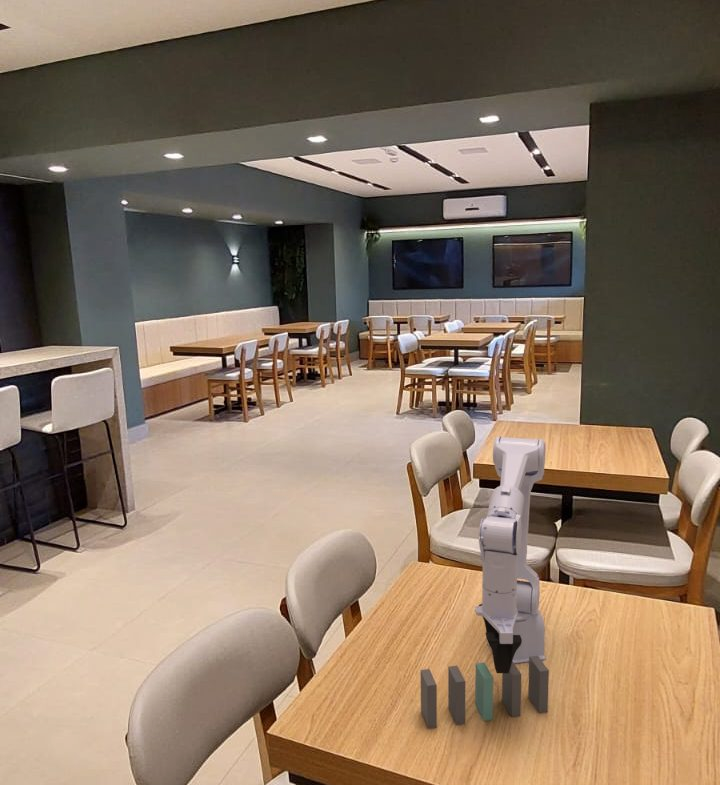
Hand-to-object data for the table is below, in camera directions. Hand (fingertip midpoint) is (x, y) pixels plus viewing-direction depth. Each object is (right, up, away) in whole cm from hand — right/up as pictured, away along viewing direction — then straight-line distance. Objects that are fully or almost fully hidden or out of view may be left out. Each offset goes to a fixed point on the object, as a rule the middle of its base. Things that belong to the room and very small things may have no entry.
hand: (498, 658), depth 106 cm
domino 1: (-12, -10, 0) cm, 16 cm away
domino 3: (+3, -10, +2) cm, 10 cm away
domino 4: (+8, -9, +3) cm, 12 cm away
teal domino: (-2, -10, +1) cm, 10 cm away
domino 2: (-7, -10, 0) cm, 12 cm away
